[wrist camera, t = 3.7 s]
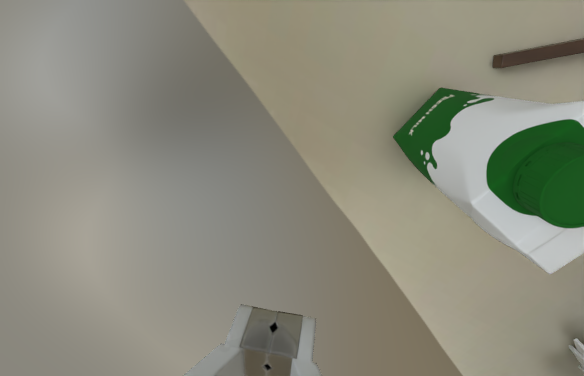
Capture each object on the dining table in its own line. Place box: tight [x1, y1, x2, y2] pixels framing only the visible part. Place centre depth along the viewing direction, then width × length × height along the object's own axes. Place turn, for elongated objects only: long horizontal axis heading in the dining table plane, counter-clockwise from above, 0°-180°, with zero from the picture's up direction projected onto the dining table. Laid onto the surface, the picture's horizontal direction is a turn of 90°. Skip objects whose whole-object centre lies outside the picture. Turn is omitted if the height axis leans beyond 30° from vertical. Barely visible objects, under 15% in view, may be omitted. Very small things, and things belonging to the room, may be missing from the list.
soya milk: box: [393, 88, 584, 274], centre depth 23 cm, size 9×9×20 cm
